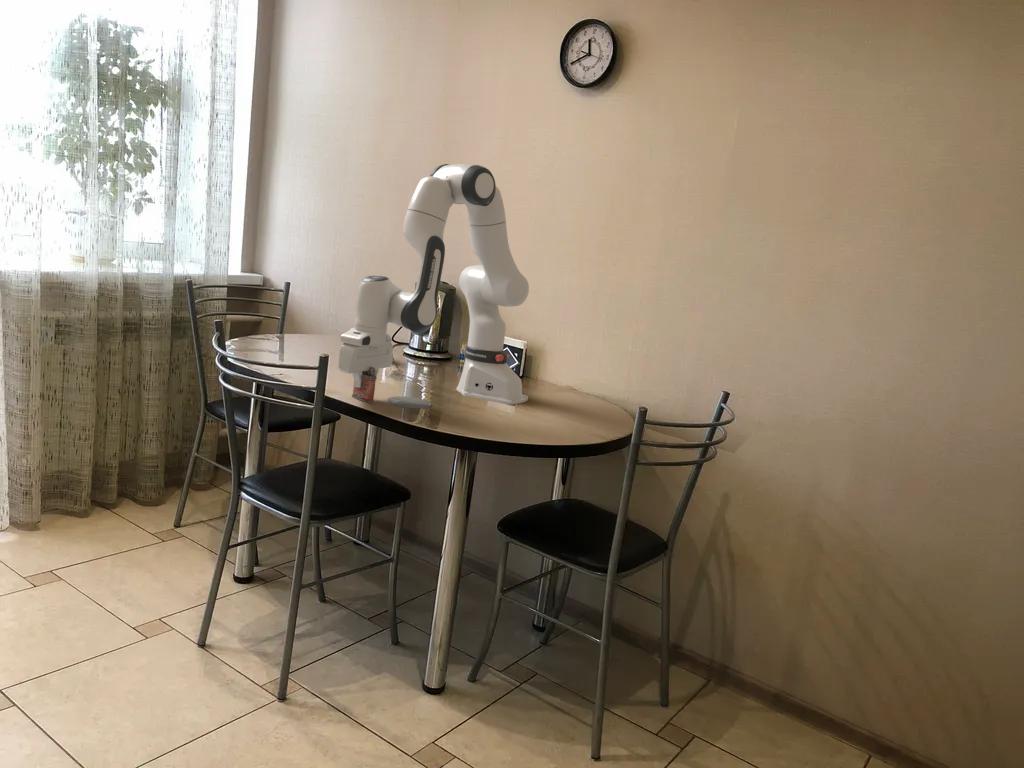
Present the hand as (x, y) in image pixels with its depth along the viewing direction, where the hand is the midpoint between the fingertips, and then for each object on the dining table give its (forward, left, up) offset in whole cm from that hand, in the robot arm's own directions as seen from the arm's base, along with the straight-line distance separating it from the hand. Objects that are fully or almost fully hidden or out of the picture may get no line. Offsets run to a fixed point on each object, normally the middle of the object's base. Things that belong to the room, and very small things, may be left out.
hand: (364, 385), depth 217 cm
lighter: (0, 0, -4) cm, 4 cm away
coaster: (-10, -8, -4) cm, 13 cm away
